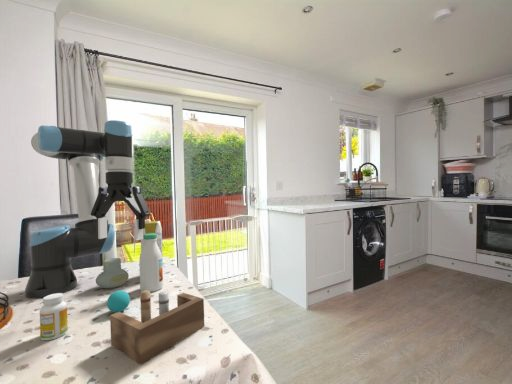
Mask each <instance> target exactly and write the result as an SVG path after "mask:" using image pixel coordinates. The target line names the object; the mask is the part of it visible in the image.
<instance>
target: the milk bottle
mask: <svg viewBox="0 0 512 384" xmlns="http://www.w3.org/2000/svg"><path fill="white" fill-rule="evenodd" d="M143 239H144V246H143V249H142V251H140V254H139V290H140V292H142V291H146V290H149V291H150V293H151V292H152V293H153V292H157V291H159V290H161V289H162V288H163V287H164V285H163V284H164V276H163V274H164V273H163V272H164V269H163V267H162V254H163V253H162V254H161V251H160V249H159V247H158V245H157V242H156V240H157V234H156V233H149V234H144V235H143Z"/></svg>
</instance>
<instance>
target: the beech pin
mask: <svg viewBox="0 0 512 384" xmlns="http://www.w3.org/2000/svg"><path fill="white" fill-rule="evenodd" d="M139 294H140V301H139V302H140V320H141V321H140V322H142V323H144V322H146V321H148V320H151V319H152V306H151V305H152V303H151V300H152V297H151V292H150V291H149V290H146V291H140V293H139Z"/></svg>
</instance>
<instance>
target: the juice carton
mask: <svg viewBox="0 0 512 384" xmlns="http://www.w3.org/2000/svg"><path fill="white" fill-rule="evenodd" d="M149 233H156V234H157V240H156V242H157V245H158V247H159V249H160V251H161V254H162V268H163V265H164V261H163V260H164V259H163V228H162V223H161V221H160V220H153V221H152V220H151V219H150V218H148V219H145V228H144V229H143V235H144V234H149ZM143 246H144V239H141V240H140V250H141V251H142V249H143ZM141 251H140V252H141Z"/></svg>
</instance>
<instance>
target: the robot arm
mask: <svg viewBox="0 0 512 384" xmlns="http://www.w3.org/2000/svg"><path fill="white" fill-rule="evenodd" d="M103 128H104V129H103V132H102V131H101V132H100V131H91V130H85V129H83V130H82V129H75V128H68V127H67V128H66V127H61V126H56V125H45V124H44V125H40V126H38V130H37V132H36V133H35V134H33V136H32V137H31V141H30V144H31V147H32V149H33V150H34V151H35V152H36V153H37V154H40V155H42V156H45V157H48V158H51V159H58V160H68V161H67V162H68V165H69V166H71V167H72V169H73V176H74V184H75V185H74V186H75V195H76V204H77V213H78V220H77V221H76V222H75V223H74V227H71V226H70V225H69V224H61V225H55V226H54V225H53V226H49V227H45V228H40V229H37V230H35V231H33V232H32V233H31V234H30V240H29V241H30V243H29V247H30V275H29V277H28V281H27V282H26V286H25V289H24V296H25V297H26V298H30V299H32V298H33V299H37V298H44V297H46V296H48V295H51V294H56V293H63V294H64V293H66V292H70V291H71V290H73V289H75V288H77V286H78V278H77V276H76V274H75V272H74V269H73V267H72V259H75V258H81V257H87V256H93V255H100V254H105V253H108V252H110V251H111V250H112V248H113V246H114V242H115V234H116V233H115V232H116V231H115V227H114V224H113V223H109V220H108V217H107V216H106V215H107V214H108V212H109V211H110V209H111V207H112V206H113V204H114V203H115V202H124V203H126V205H127V206H128V207H129V209H130V210H131V212H133V214H134V215H135V219H134V237H135V238H134V240H135V241H141V239H143V229H144V228H145V220H146V218H147V217H150V216H151V215H152V214H151V211H150V209H149V207H148V204H147V202H146V200H145V198H144V196H143V193H142V188H141V186H132V184H133V183H134V178H133V176H134V175H133V172H132V171H133V132H132V125H131V124H130V123H128V122H127V121H122V120H107V121H105V123H104V127H103ZM104 158H105V159H104ZM103 159H104V162H105V170H106V172H105V184H107V186H100V185H99V184H100V183H99V175H98V167H97V166H99V165H100V164H101V161H103Z"/></svg>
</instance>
